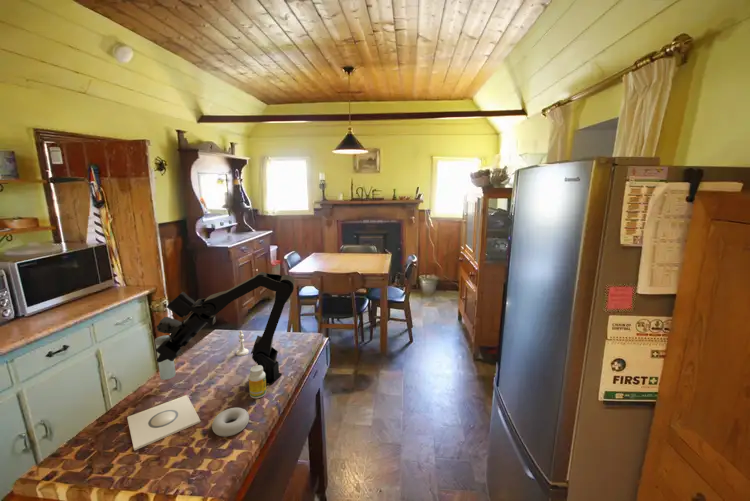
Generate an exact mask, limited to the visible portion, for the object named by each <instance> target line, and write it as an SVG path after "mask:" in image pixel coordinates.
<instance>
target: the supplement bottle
mask: <svg viewBox="0 0 750 501" xmlns="http://www.w3.org/2000/svg"><path fill="white" fill-rule="evenodd" d="M248 385H249V386H248V388H249V396H250V397H251V398H253V399H259V398H262V397H265V395H266V394H267V383H266V375H265V372H264V371H263V366H261V365H258V364H256V365H253V366H251V368H250V372H249V375H248Z"/></svg>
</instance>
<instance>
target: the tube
mask: <svg viewBox="0 0 750 501" xmlns="http://www.w3.org/2000/svg"><path fill="white" fill-rule="evenodd" d="M169 335H170V334H168V335H167V334H165V335H161V336H158V337H156V338H155V339H154V345H155V350H156V349H157V348H158V347H159V346H160V345H161V344H162V343H163V342H164V341H166V340H169V341H171V340H172V338H171V337H169ZM156 355H157V356H156V357H157V358H158V357H159V355H160V354H159V353H158V352H157V351H156ZM157 364H158V365H157V366H158V370H159V371H158V372H159V376H160V377H159V378H160V379H161V380H162V381H163V380H165V381H167V380H170V379H173V378H174V377H175V376H176V374H177V373H176V366H175V359H174V360H173V361H170V360H168V359H167V360H164V361H162V362H157Z"/></svg>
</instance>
